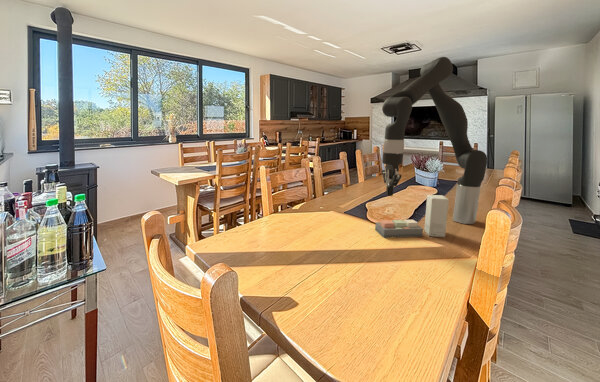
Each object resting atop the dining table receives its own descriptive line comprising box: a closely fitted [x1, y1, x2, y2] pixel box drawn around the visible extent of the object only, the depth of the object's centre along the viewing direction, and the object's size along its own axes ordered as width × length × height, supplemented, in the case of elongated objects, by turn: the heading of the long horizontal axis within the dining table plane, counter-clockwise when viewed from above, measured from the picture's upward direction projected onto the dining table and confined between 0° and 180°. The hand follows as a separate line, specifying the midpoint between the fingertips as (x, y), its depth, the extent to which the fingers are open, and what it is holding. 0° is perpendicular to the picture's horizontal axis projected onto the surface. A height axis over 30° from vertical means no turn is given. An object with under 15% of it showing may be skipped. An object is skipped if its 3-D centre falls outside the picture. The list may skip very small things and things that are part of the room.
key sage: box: [391, 219, 406, 228], centre depth 117 cm, size 4×4×2 cm
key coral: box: [379, 219, 394, 228], centre depth 116 cm, size 4×4×2 cm
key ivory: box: [403, 219, 419, 227], centre depth 117 cm, size 4×4×2 cm
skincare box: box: [423, 194, 450, 238], centre depth 116 cm, size 8×7×16 cm
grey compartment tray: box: [374, 221, 424, 239], centre depth 117 cm, size 16×9×3 cm, turn 97°
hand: (389, 195), depth 114 cm, fingers closed
